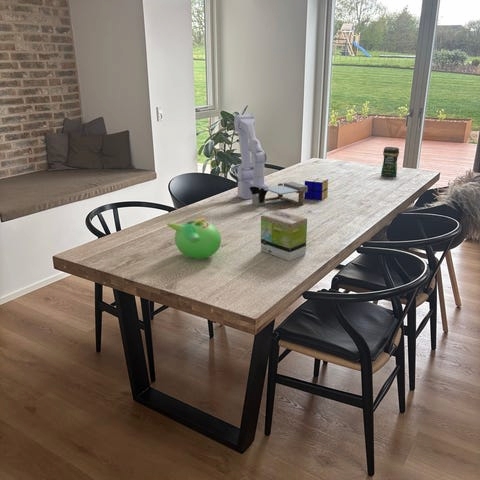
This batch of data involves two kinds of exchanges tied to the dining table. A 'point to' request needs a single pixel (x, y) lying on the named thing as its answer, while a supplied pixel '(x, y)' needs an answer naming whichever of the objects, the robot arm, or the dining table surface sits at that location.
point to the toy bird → (196, 238)
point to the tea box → (283, 235)
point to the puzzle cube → (316, 189)
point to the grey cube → (256, 200)
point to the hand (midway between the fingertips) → (258, 201)
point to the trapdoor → (288, 188)
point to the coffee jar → (390, 161)
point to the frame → (300, 202)
